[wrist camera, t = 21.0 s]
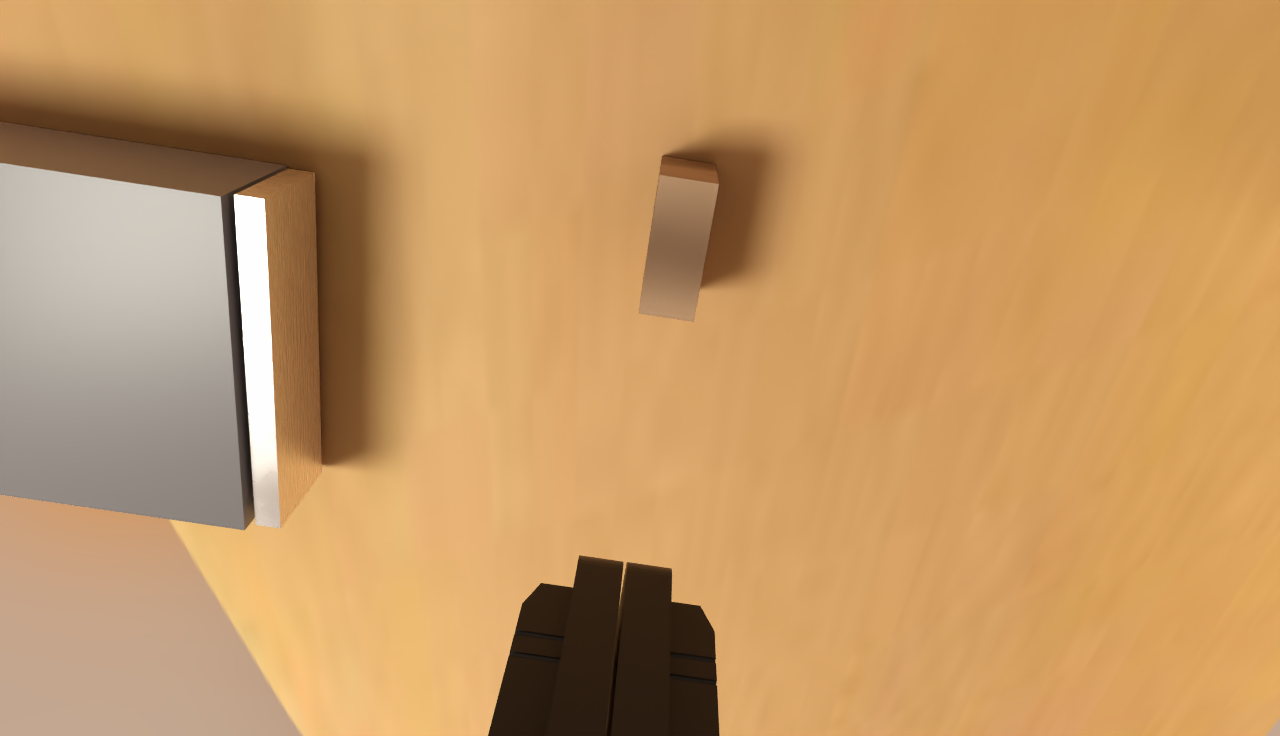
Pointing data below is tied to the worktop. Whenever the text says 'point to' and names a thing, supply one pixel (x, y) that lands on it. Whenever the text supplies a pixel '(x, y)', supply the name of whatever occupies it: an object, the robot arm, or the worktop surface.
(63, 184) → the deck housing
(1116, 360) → the worktop surface
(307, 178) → the tray
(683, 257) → the brown rectangular block
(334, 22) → the worktop surface
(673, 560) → the worktop surface
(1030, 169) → the worktop surface
